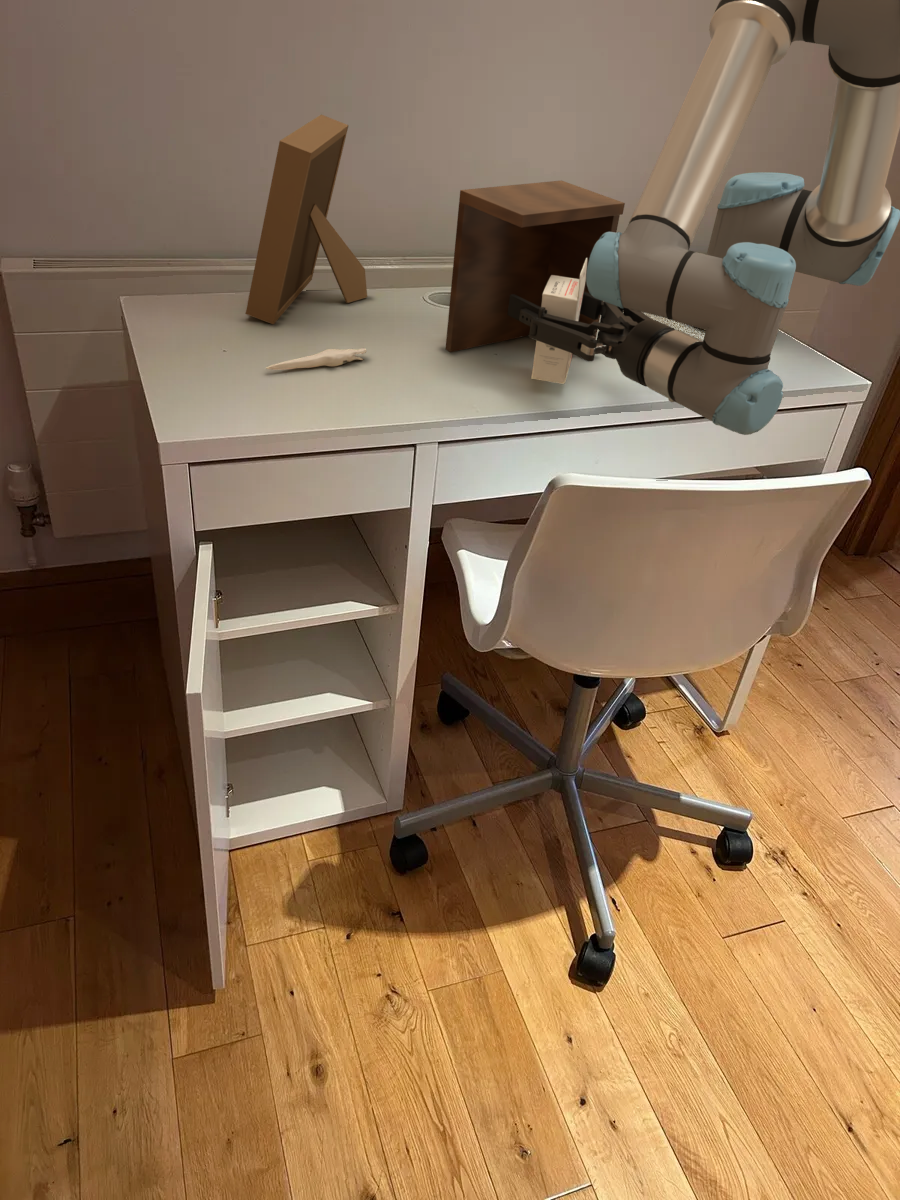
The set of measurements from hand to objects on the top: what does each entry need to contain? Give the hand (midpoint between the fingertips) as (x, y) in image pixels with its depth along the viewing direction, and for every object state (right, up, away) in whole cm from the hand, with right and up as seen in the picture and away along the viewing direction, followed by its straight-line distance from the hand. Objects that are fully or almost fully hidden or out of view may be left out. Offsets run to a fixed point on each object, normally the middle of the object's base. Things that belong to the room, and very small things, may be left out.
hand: (538, 299), depth 125 cm
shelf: (-2, -4, +11) cm, 12 cm away
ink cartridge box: (+2, -9, +3) cm, 10 cm away
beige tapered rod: (-30, -9, +1) cm, 32 cm away
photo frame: (-33, +6, +20) cm, 39 cm away
